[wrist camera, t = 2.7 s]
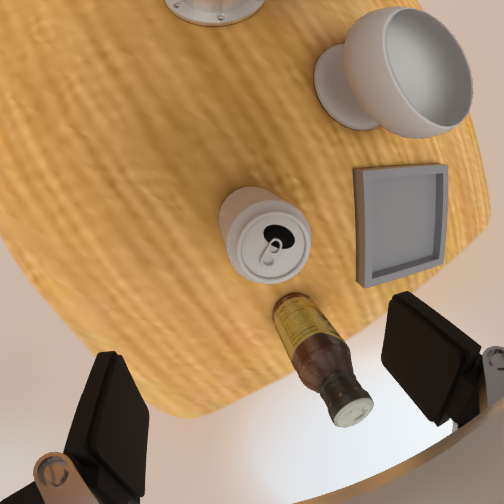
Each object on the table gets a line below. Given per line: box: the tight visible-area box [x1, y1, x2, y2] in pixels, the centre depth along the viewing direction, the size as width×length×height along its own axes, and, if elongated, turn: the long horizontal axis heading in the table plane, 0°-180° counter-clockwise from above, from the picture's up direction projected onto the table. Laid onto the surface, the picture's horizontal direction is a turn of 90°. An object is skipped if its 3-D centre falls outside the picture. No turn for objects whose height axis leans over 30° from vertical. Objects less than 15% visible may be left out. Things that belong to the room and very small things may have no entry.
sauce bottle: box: [273, 294, 374, 428], centre depth 31 cm, size 7×6×20 cm
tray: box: [353, 163, 448, 289], centre depth 37 cm, size 16×16×2 cm
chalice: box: [314, 7, 473, 139], centre depth 24 cm, size 14×14×15 cm
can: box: [219, 186, 311, 284], centre depth 29 cm, size 8×8×12 cm
